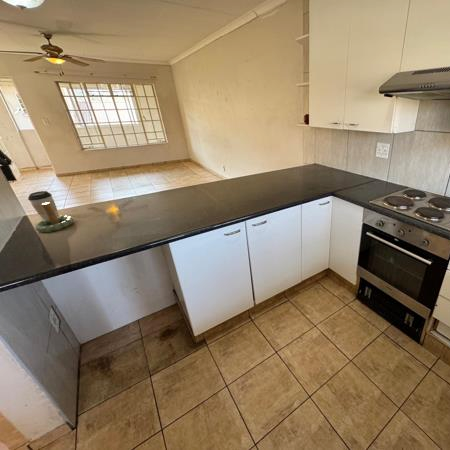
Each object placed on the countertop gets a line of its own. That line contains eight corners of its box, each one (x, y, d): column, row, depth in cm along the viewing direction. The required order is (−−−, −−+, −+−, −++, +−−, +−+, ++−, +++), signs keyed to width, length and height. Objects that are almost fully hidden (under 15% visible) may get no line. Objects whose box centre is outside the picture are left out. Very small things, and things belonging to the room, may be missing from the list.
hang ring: (29, 234, 115) (26, 228, 114) (49, 221, 127) (47, 216, 126) (63, 231, 118) (61, 226, 117) (80, 218, 130) (78, 213, 129)
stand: (41, 233, 119) (27, 208, 113) (53, 225, 127) (41, 200, 121) (63, 231, 121) (50, 206, 115) (73, 223, 129) (62, 199, 122)
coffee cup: (39, 223, 128) (24, 197, 121) (40, 218, 135) (26, 192, 128) (62, 218, 133) (49, 192, 127) (62, 213, 140) (50, 188, 133)
